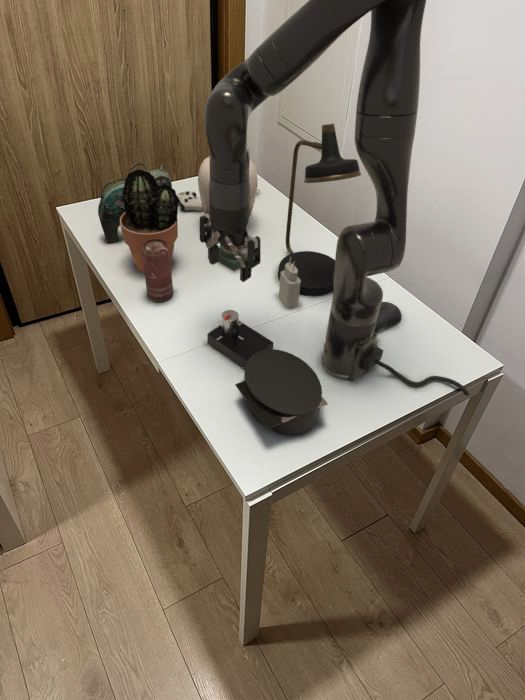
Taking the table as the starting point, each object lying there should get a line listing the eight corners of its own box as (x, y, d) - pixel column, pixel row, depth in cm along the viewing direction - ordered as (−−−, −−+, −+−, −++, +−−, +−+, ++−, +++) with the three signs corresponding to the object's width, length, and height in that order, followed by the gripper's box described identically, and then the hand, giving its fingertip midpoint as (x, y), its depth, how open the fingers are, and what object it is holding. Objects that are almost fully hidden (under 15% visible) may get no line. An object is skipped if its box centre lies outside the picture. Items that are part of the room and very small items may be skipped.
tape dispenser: (288, 365, 114) (288, 339, 109) (335, 422, 102) (338, 395, 97) (226, 389, 109) (224, 362, 104) (268, 451, 97) (268, 424, 92)
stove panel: (272, 352, 115) (273, 341, 113) (247, 371, 111) (248, 360, 108) (230, 324, 121) (230, 313, 119) (204, 341, 117) (204, 331, 114)
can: (169, 305, 125) (164, 255, 115) (144, 300, 126) (136, 250, 116) (177, 289, 129) (173, 240, 120) (152, 285, 130) (146, 236, 120)
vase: (236, 247, 144) (237, 166, 128) (188, 229, 149) (184, 149, 133) (265, 222, 154) (270, 144, 138) (219, 206, 159) (219, 129, 143)
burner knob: (229, 323, 117) (229, 306, 113) (241, 330, 115) (242, 313, 112) (218, 331, 115) (218, 314, 111) (230, 339, 113) (230, 322, 110)
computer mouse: (413, 323, 124) (417, 310, 122) (370, 348, 117) (374, 336, 115) (381, 301, 130) (384, 288, 127) (338, 324, 123) (341, 311, 120)
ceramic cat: (171, 222, 151) (166, 154, 137) (179, 234, 147) (173, 164, 133) (101, 235, 145) (87, 165, 131) (106, 248, 141) (93, 176, 127)
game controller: (206, 208, 156) (191, 197, 152) (194, 221, 157) (179, 211, 153) (196, 193, 162) (182, 181, 158) (185, 206, 164) (170, 195, 160)
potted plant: (142, 286, 129) (128, 191, 112) (117, 259, 137) (101, 166, 120) (190, 269, 136) (185, 176, 118) (164, 244, 143) (156, 153, 126)
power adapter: (287, 309, 126) (291, 267, 118) (277, 295, 129) (281, 254, 121) (298, 306, 127) (304, 264, 119) (289, 292, 130) (293, 251, 122)
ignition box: (252, 260, 140) (253, 247, 137) (234, 271, 136) (234, 258, 133) (230, 248, 143) (230, 235, 141) (212, 258, 139) (211, 245, 137)
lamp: (300, 305, 127) (319, 147, 100) (258, 258, 141) (265, 107, 114) (356, 288, 133) (388, 134, 106) (310, 244, 146) (329, 98, 120)
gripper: (272, 205, 97) (267, 277, 108) (215, 179, 103) (216, 250, 114) (244, 220, 93) (242, 294, 104) (187, 192, 99) (191, 264, 110)
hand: (229, 271), depth 109 cm, fingers open, 8 cm apart
